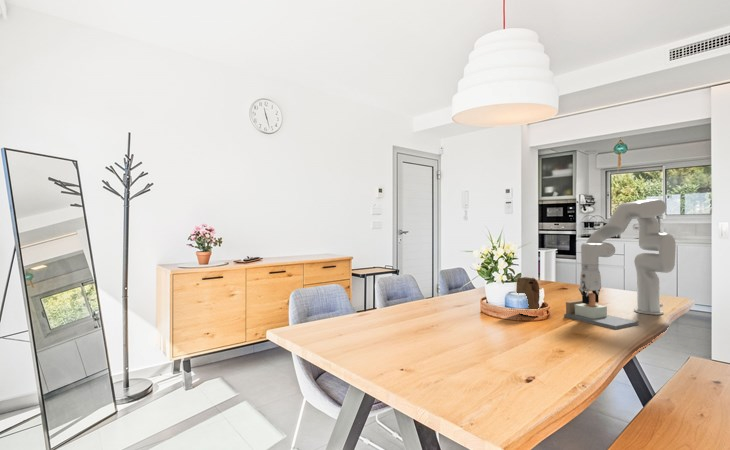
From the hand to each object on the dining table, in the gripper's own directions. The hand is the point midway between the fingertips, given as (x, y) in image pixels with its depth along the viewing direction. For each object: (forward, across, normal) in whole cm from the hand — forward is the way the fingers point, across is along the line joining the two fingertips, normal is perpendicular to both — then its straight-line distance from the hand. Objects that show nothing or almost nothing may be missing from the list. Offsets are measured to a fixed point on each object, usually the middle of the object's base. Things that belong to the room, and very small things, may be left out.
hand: (590, 302), depth 190 cm
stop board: (+8, 0, -5) cm, 9 cm away
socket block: (+6, 0, 0) cm, 6 cm away
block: (+8, -22, +19) cm, 30 cm away
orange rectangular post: (+5, 0, 0) cm, 5 cm away
